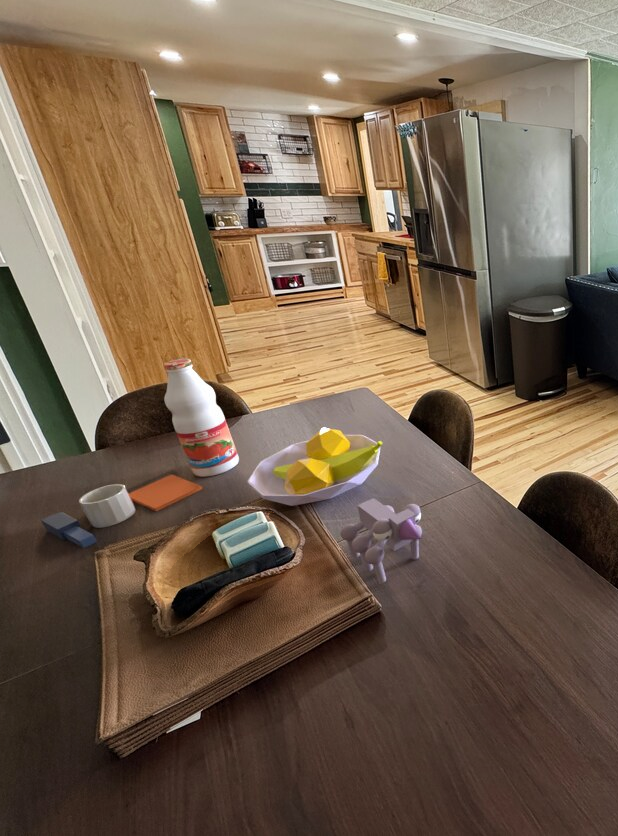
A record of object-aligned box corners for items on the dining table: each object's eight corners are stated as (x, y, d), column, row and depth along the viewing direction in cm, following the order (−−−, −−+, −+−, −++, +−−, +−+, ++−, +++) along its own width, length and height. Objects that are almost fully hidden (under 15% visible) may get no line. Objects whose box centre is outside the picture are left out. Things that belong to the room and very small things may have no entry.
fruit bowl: (227, 506, 103) (210, 462, 99) (329, 446, 127) (319, 408, 122) (326, 534, 95) (312, 486, 90) (415, 464, 118) (408, 424, 114)
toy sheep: (455, 573, 85) (445, 511, 80) (401, 612, 77) (386, 547, 72) (394, 528, 96) (382, 472, 91) (341, 558, 88) (325, 498, 83)
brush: (80, 550, 91) (73, 538, 90) (47, 531, 96) (40, 520, 95) (100, 540, 93) (94, 528, 92) (66, 522, 98) (60, 511, 97)
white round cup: (101, 531, 96) (89, 507, 94) (85, 522, 98) (72, 498, 96) (142, 511, 102) (131, 488, 99) (125, 504, 104) (114, 481, 102)
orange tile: (156, 511, 102) (154, 508, 101) (126, 498, 106) (124, 495, 106) (202, 488, 109) (201, 486, 109) (172, 477, 114) (171, 474, 113)
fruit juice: (241, 453, 124) (205, 352, 113) (238, 470, 116) (199, 364, 105) (196, 463, 119) (154, 359, 108) (190, 482, 112) (144, 372, 101)
